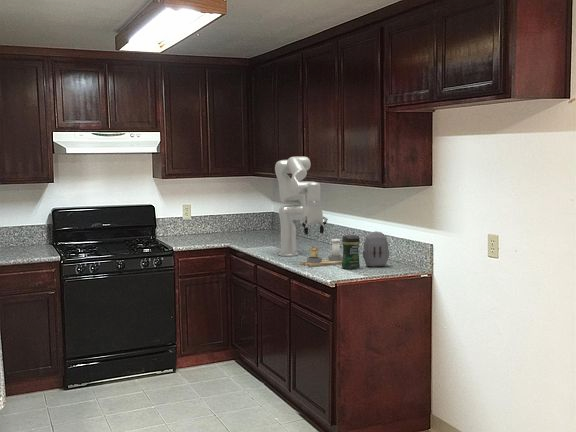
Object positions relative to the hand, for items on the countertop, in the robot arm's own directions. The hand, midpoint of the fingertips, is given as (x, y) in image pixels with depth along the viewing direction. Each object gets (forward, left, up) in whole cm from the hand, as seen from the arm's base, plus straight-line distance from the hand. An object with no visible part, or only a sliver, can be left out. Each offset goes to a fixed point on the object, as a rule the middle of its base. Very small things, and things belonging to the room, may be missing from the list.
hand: (313, 233), depth 372 cm
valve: (0, 0, -16) cm, 16 cm away
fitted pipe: (0, +14, -16) cm, 22 cm away
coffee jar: (+20, +13, -18) cm, 30 cm away
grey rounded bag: (+22, +28, -18) cm, 40 cm away
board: (0, +6, -18) cm, 19 cm away
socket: (0, 0, -16) cm, 16 cm away
